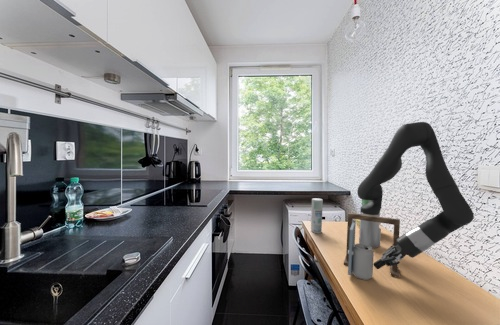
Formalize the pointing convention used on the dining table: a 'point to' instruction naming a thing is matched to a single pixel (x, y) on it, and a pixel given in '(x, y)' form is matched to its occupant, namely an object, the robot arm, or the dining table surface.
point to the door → (351, 246)
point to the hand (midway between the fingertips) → (375, 266)
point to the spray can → (316, 215)
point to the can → (362, 261)
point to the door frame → (395, 222)
